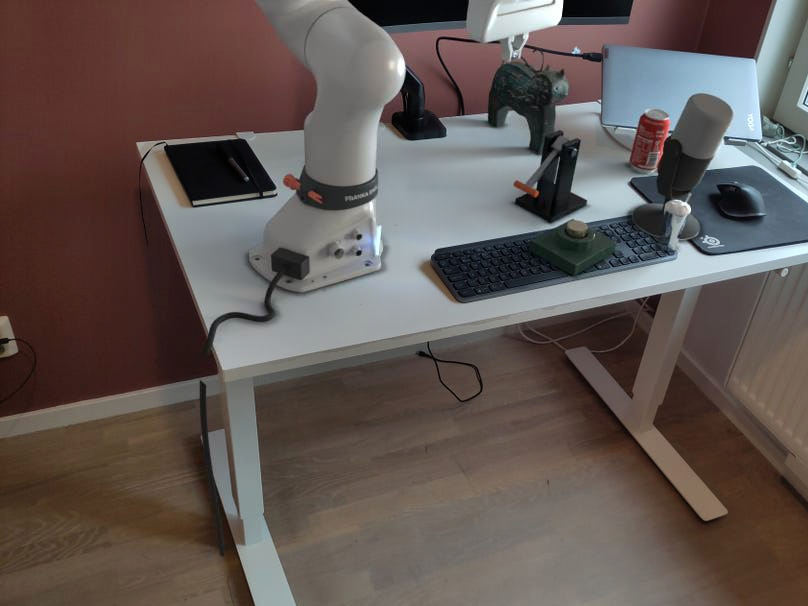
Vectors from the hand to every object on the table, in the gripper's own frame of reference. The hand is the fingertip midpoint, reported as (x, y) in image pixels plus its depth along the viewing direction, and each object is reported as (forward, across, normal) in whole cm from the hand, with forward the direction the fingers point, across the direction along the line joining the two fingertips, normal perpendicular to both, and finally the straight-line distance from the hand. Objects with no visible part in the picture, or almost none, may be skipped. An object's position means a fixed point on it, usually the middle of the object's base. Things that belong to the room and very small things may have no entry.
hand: (510, 59), depth 140 cm
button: (+24, +1, +21) cm, 31 cm away
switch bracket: (+27, -9, +8) cm, 30 cm away
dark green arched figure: (+27, -26, -16) cm, 41 cm away
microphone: (+27, -22, +25) cm, 43 cm away
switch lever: (+19, -6, +8) cm, 21 cm away
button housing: (+27, +1, +21) cm, 34 cm away
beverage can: (+27, -38, +9) cm, 47 cm away
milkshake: (+27, -15, +30) cm, 44 cm away
